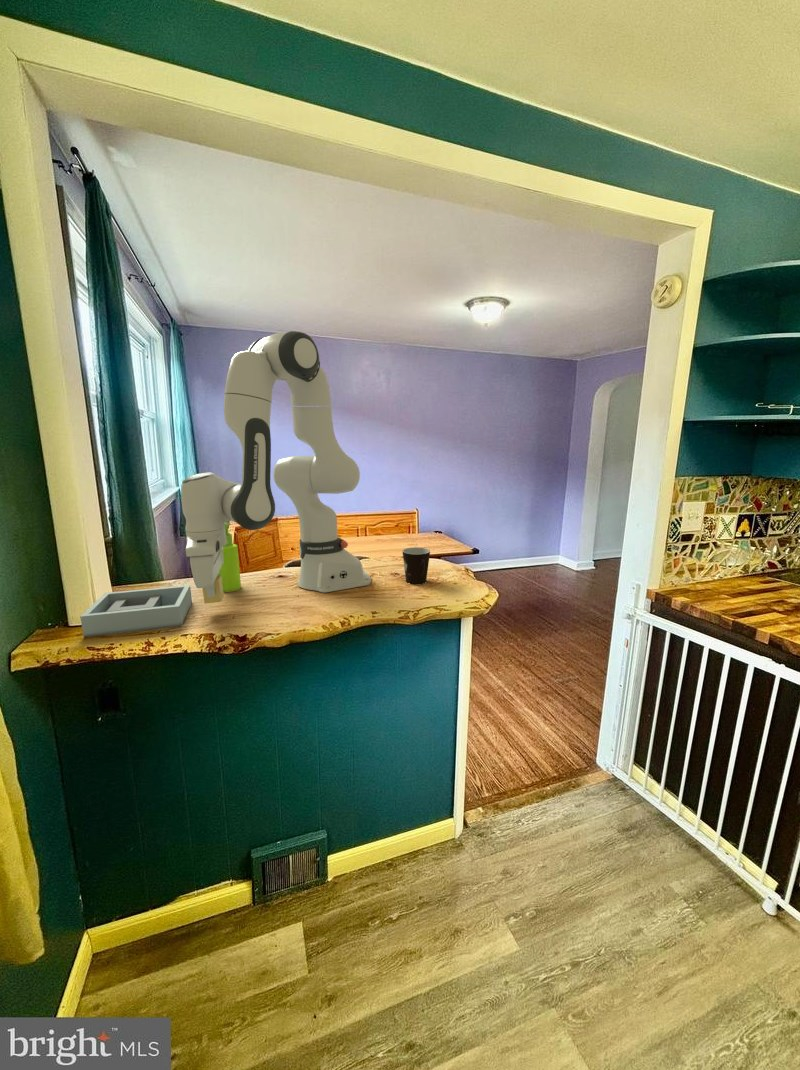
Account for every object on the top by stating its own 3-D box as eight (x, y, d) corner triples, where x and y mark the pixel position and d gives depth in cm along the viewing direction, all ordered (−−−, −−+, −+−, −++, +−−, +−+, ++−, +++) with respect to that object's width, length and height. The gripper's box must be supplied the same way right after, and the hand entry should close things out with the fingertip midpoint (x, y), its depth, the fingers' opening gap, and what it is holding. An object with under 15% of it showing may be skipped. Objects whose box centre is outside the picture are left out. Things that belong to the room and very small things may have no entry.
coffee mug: (404, 576, 138) (404, 547, 136) (430, 577, 137) (431, 547, 135) (399, 588, 127) (399, 556, 125) (427, 589, 126) (428, 557, 124)
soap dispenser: (213, 591, 125) (206, 525, 121) (229, 584, 131) (223, 520, 127) (229, 593, 123) (222, 526, 119) (245, 586, 129) (239, 522, 125)
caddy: (192, 602, 116) (190, 585, 115) (181, 625, 102) (179, 606, 100) (107, 611, 111) (105, 592, 110) (83, 637, 96) (80, 616, 95)
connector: (223, 595, 111) (221, 574, 110) (221, 601, 107) (218, 579, 106) (207, 597, 110) (204, 575, 109) (204, 603, 106) (201, 581, 105)
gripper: (201, 530, 114) (207, 579, 117) (183, 551, 94) (191, 609, 98) (226, 529, 115) (231, 577, 119) (213, 549, 96) (221, 606, 99)
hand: (213, 591), depth 108 cm, fingers closed on connector, 4 cm apart
